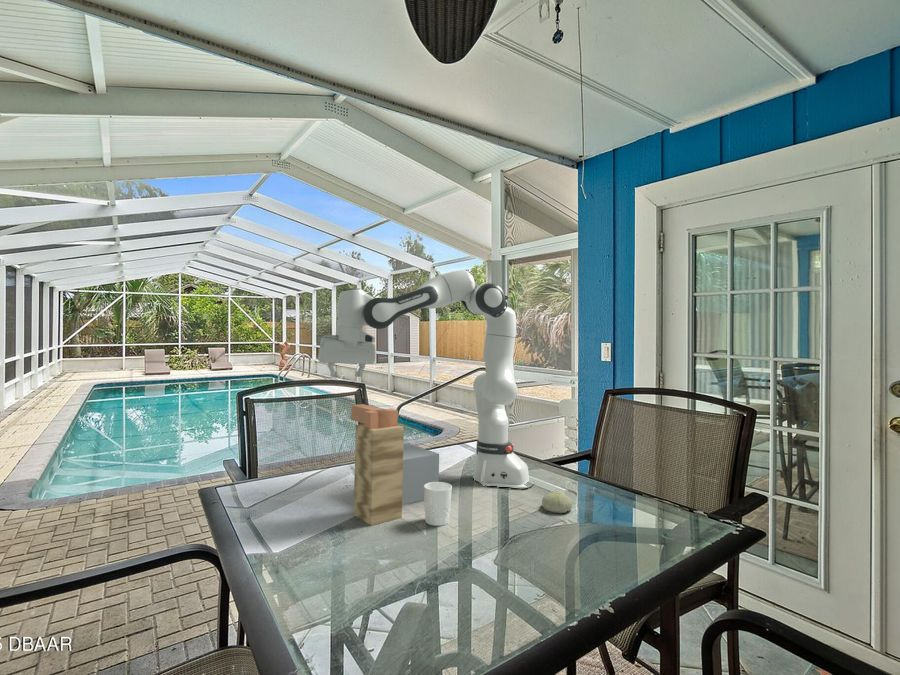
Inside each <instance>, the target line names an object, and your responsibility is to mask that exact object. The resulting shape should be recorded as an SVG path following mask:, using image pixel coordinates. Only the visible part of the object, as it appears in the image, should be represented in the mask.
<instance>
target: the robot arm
mask: <svg viewBox="0 0 900 675" xmlns="http://www.w3.org/2000/svg"><path fill="white" fill-rule="evenodd" d="M458 302H461V303H462V305H463V306H464V308H465V309H466V311H467V312H468V313H470V314H471V315H473V316H483V317H484V318H485V320H486V330H485V336H484V346H483V354H482V355H483V360H484V366H485V372H483V373H480V374H478V375H477V376H476V377H475V378H474V380H473V383H472V384H473V386H472V388H473V391H474V394H475V404H476V411H477V417H478V419H477V420H478V421H477V422H478V425H477V426H478V428H477V429H478V431H477V433H478V434H477V435H478V436H477V441H476V449H475V450H476V464H475V467H474V472H473V476H472V479H473V478H474V479H475V480H476V481H478V482H480V483H481V484H482V485H490V486H497V487H496V488H499V487H518V488H519V487H527V486H526V485H524V484H526V483H527V482H528V481H529V476H530V474H529V473H530V472H529V467H528V465H527V463H526V462H525V461H524V460H522V459H521V458H520V457H519V456H518V455H517V454H515V452H514V447H515V444H514V443H511V442H510V441H509V423H510V422H509V417H508V416H507V412H506V406H507V405H510V404H512V403H513V402H514V401H516V399H517V397H518V391H519V390H518V389H519V388H518V385H517V384H516V380H515V378H516V377H515V368H514V366H515V365H514V354H515V345H516V337H517V316H516V312H515V311H514V310H513V308H511V307H508V302H507V300H506V294H505V292H504V290H503V289H502V288H501V287H500V286H499V285H498V284H495V283H493V282H492V283H491V282H489V283H484V284H477V283H476V282H475V279H474V276H473V275H472V274H471V273H470V272H469V271H468V270H465V269H461V270H453V271H450V272H446V273H443V274H439V275H437V276H435V277H432V278H430V279H428V280H427V281H424V282H423V283H422V284H421V285H420V286H419V287H417V289H415V290H412V291H410V292H407V293H405V294H401V295H398V296H396V297H391V298H389V297H388V298H387V297H373V296H372V295H370V294H368V293H367V292H366V291H364V290H363V289H362V288H357V287H356V288H348V289H344V290H343V291H342V292H341V293H340V294H339V296H338V301H337V309H336V315H337V322H336V324H335V334H324V335H323V336H322V337H320V338H319V339H320V340H319V350H318V355H317V360H318V361H319V363H323V364H327V367H328V369H329V372H330V377H332V378H337V377H338V371H335V368H334V367H336V366H335V365H336V364H358V367H359V368H358V369H357V371H354V372H355V377H357V378H361V377H362V375H363V374H362V373H363V371H364V369H365V368H366V364H367V365H373V364H374V363H375V362H376V345H375V344H374V343H375V340H376V338H375V336H373V335H370V334H368V333H367V332H364V331H363V330H364V326H368V327H370V328H372V329H378V330H381V329H385V328H387V327H389V326H390V325H392V324H393V322H394V321H396V319H398V318H399V317H402V316H403V315H406V314H408V313H411V312H415V311H418V310H420V309H431V310H432V309H438V308H439V309H440V308H444V307H446V306H447V307H448V306H450V305H452V304H455V303H458ZM475 480H474V481H475ZM476 481H475V482H476ZM478 482H477V483H478ZM480 483H479V484H480ZM481 484H480V485H481ZM482 485H481V486H482Z"/></svg>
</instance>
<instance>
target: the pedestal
mask: <svg viewBox="0 0 900 675" xmlns="http://www.w3.org/2000/svg"><path fill="white" fill-rule="evenodd" d="M404 428H405V427H404V426H403V425H402V426H401V425H399V424H398V426H392V427H383V428H375V429H369V428H366V427H364V424H363V423H360V424H355V440H354V441H355V442H354V443H355V445H354V447H355V448H354V483H353V487H354V490H353V493H354V494H353V516H355V517H357V518H358V519H359V520H361V521H363V522H364V523H366V524H367V525H369V526H371V527H372V526H375V525H378V524H383V523H387V522H390V521H394V520H398V519H402V517H403V506H402V488H403V444H405V443H404V440H405V438H404V437H405V436H404V435H405V434H404V433H405V429H404Z"/></svg>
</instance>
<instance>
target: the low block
mask: <svg viewBox="0 0 900 675" xmlns="http://www.w3.org/2000/svg"><path fill="white" fill-rule="evenodd" d="M439 476H440V453H438V452H436V451H432V450H429V449H427V448H423V447H419V446H417V445H415V444H412V443H411V444H410V443H404V444H403V488H402V507H403V506H405V505H406V506H407V505H410V504H414V502H415V503H418V501H419V502H422V501H421V500H423V501H424V485H425V484H427V483H430V482H440V481H439V478H440V477H439Z"/></svg>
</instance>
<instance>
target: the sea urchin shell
mask: <svg viewBox="0 0 900 675" xmlns="http://www.w3.org/2000/svg"><path fill="white" fill-rule="evenodd" d="M541 506H542V508H543V509H544V510H545V511H548V512H550V513H555V514H563V513H564V514H565V513H567V511H568V512H570V511H571V509H572V508H573V502H572V499H571V498H570V497H569V496H568V495H566V494H564V493H563V492H561V491H552V492H547V493H546V494H545V495H544V496H543V497H542V499H541Z"/></svg>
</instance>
